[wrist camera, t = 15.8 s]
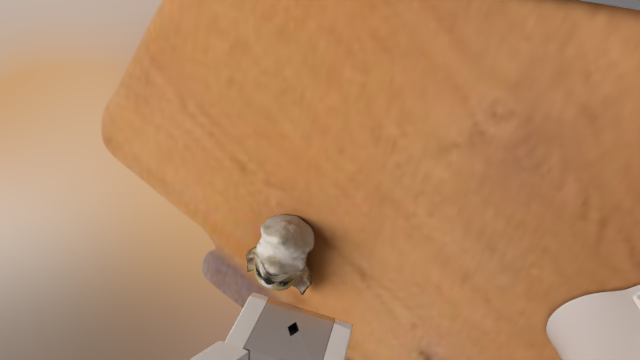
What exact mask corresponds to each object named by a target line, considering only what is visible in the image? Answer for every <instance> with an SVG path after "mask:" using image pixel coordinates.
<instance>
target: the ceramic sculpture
mask: <svg viewBox="0 0 640 360" xmlns="http://www.w3.org/2000/svg"><path fill="white" fill-rule="evenodd" d="M261 234H262V237H261V239H260V241H259V242H258V244H257V246H256V247H254V248H252V249H250V250H249V251H248V252H247V254H246V259H247V262H248V266H247V272H249V271H252V270H254V274H255V277H256V279H257V280H258V282H259V283H261V284H262V285H264V286H265V287H268V288H270V289H273V290H277V291H280V290H285V289H288V288H289V287H291V286H292V285H293V286H294V287H296V288H297V289H298V290H299V291H300V293H301V295H303V294H304V293H305V291H306V289H307V288H308V287H309V286H310V285H311V284H312V275H311V272H310V270H309V268H308V266H307V264H306V258H307V254H308V252H309V251H311V250H312V249H313V247H314V233H313V230H312V228H311V227H310V226H309V225H308V224H306V223H305V222H304V221H303V220H302V219H300V218H299V217H297V216H293V215H284V214H279V215H275V216H272V217H270V218H269V219H268V220H267V221H266V222H264V223H263V224H262V226H261Z"/></svg>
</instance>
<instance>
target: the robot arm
mask: <svg viewBox="0 0 640 360" xmlns="http://www.w3.org/2000/svg"><path fill="white" fill-rule="evenodd" d="M334 321H335V322H334ZM352 325H353V324H350V323H347V322H343V321H340V320H337V319H335V318H332V317H329V316H326V315H323V314H319V313H316V312H313V311H309V310H306V309H303V308H299V307H296V306H293V305H290V304H287V303H284V302H281V301H278V300H275V299H272V298H270V297H266V296H263V295H260V294H257V293H254V292H253V293H252V295H251V296H250V297H249V298H248V300H247V302H246V304H245V306H244V308H243V309H242V312H241V313H240V315H239V317H238V319H237V320H236V322H235V324H234V326H233V328H232V330H231V331H230V333H229V335H228V337H227V339H226V341H225V342H223V341H218V342H217V343H215V344H214V345H212V346H211V347H209V348H207V349H206V350H204V351H203V352H201V353H199V354H198V355H196V356H195V357H193V358H192V359H190V360H345V358H346V353H347V349H348V345H349V341H350V336H351V332H352ZM546 331H547V336H548V338H549V340H550V342H551V343H552V345H553V346H554V348H555V349H556V351H557V353H558V354H559V356H560V358H561V360H640V285H638V286H635V287H632V288H629V289H626V290H621V291H611V292H601V293H594V294H590V295H586V296H582V297H579V298H576V299H574V300H571V301H569V302H567V303H565V304H564V305H562V306H561V307H559V308H558V309H557V310H556V311H555V312H554V313H553V314H552V315H551V317H550V318H549V320H548V323H547V327H546Z"/></svg>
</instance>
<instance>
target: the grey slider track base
mask: <svg viewBox="0 0 640 360" xmlns="http://www.w3.org/2000/svg"><path fill="white" fill-rule="evenodd" d="M581 1H587V2H593V3H599V4H605V5H611V6H617V7H623V8H629V9H635V10H640V0H581Z"/></svg>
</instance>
